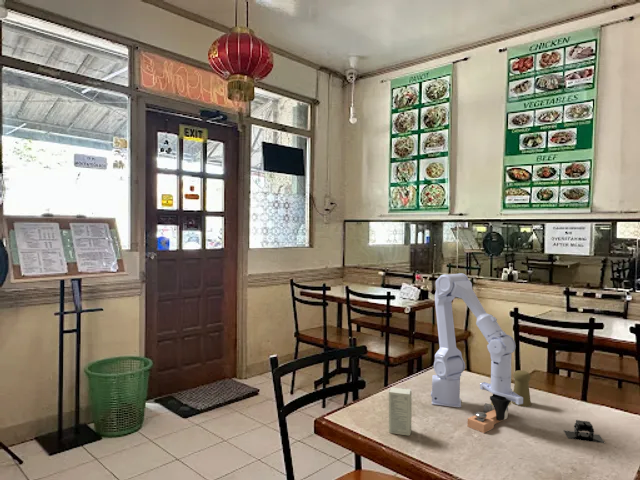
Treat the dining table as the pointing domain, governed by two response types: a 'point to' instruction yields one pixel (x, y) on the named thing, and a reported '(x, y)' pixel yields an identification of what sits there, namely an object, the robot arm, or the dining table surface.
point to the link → (485, 421)
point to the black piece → (582, 435)
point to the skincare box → (400, 411)
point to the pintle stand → (482, 415)
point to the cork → (522, 387)
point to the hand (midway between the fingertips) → (500, 419)
